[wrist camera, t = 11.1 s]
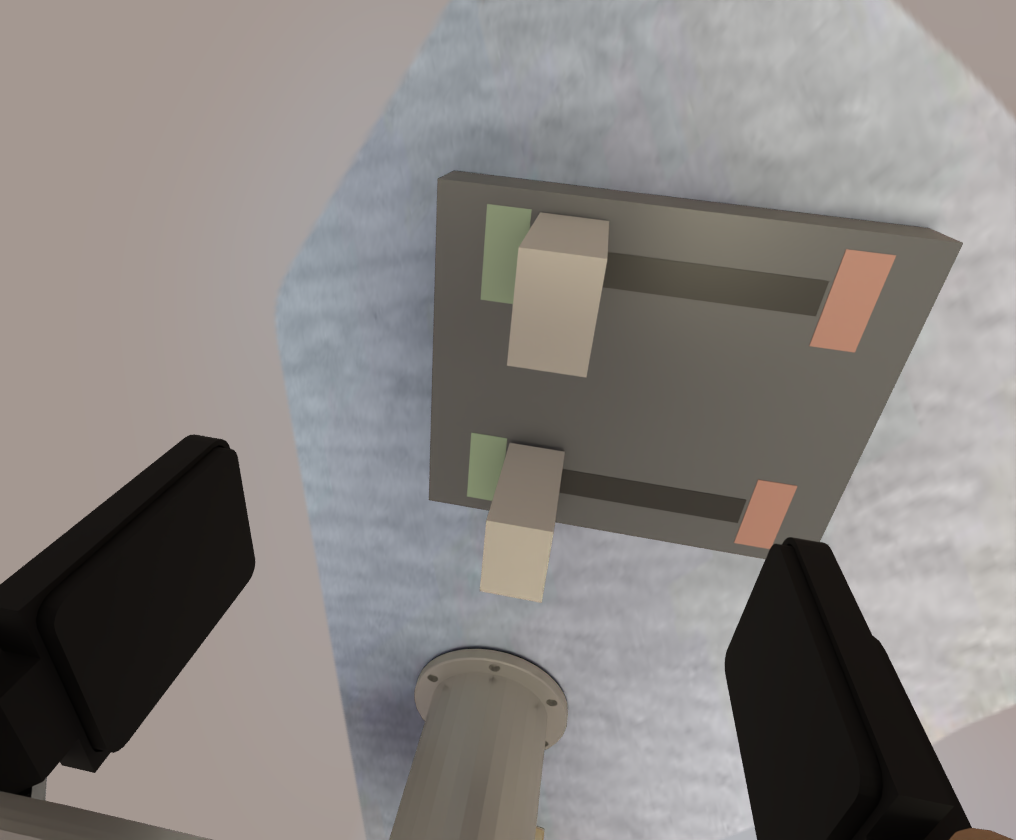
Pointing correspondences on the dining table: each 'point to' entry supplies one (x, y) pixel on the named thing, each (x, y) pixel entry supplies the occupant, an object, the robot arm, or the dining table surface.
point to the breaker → (522, 523)
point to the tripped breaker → (558, 294)
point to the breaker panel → (678, 359)
